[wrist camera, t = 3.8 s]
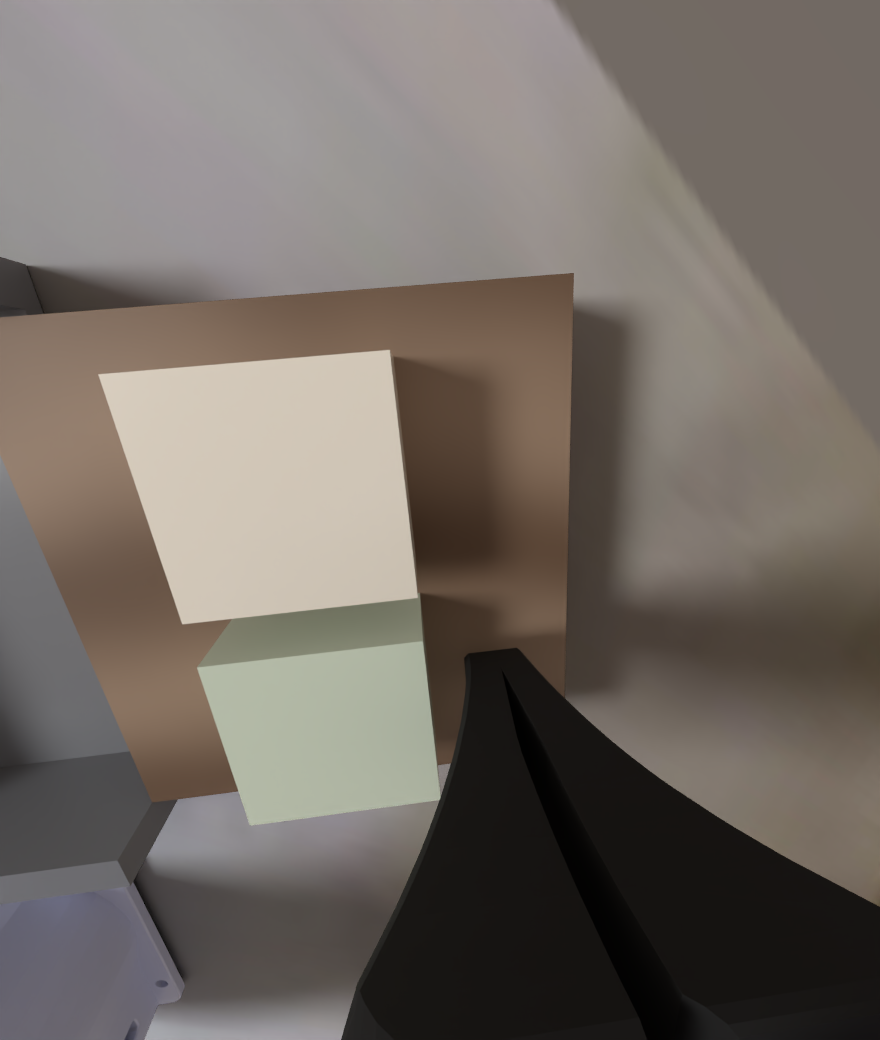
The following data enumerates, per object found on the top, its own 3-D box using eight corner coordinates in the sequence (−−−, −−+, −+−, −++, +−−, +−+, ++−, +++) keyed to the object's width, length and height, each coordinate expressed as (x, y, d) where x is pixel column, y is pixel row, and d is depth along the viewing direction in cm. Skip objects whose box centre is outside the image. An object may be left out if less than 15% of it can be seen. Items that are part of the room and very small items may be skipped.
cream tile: (415, 556, 10) (417, 597, 8) (225, 576, 10) (182, 624, 8) (393, 356, 8) (389, 349, 7) (168, 375, 8) (98, 374, 6)
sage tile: (435, 732, 12) (440, 800, 10) (275, 752, 12) (249, 825, 10) (419, 593, 10) (422, 641, 8) (235, 613, 10) (196, 667, 8)
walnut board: (538, 689, 15) (563, 748, 12) (194, 731, 14) (152, 802, 12) (536, 296, 11) (573, 273, 8) (51, 335, 10) (-59, 321, 8)
